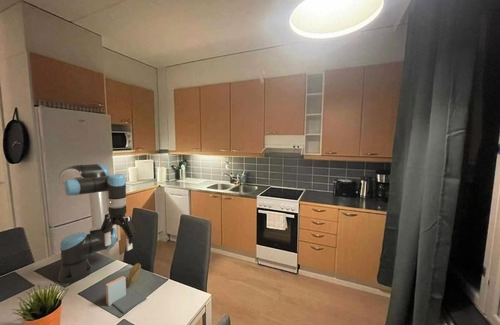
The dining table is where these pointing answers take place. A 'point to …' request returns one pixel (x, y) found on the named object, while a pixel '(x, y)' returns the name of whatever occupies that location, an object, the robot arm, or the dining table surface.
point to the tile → (115, 290)
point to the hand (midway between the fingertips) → (118, 247)
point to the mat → (129, 301)
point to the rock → (133, 275)
